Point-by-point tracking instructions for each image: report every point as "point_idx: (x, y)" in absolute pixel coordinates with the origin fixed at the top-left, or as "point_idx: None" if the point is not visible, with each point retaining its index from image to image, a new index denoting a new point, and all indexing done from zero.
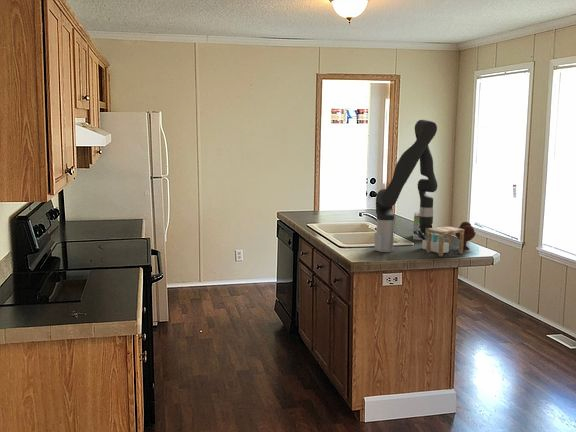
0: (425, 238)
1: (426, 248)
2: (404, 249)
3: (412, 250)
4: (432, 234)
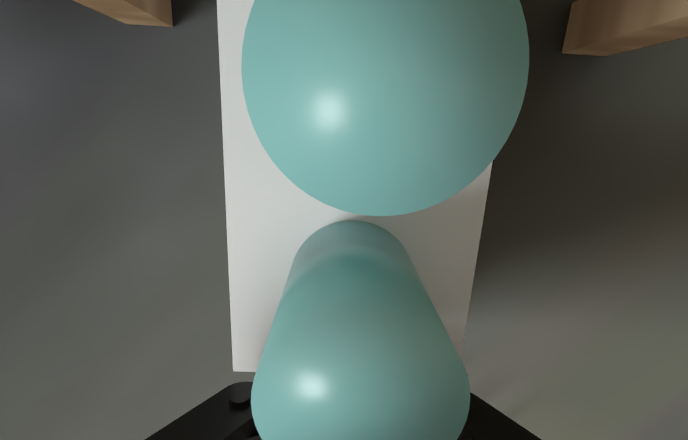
0: None
1: (662, 40)
2: (648, 360)
3: (625, 270)
4: (360, 286)
